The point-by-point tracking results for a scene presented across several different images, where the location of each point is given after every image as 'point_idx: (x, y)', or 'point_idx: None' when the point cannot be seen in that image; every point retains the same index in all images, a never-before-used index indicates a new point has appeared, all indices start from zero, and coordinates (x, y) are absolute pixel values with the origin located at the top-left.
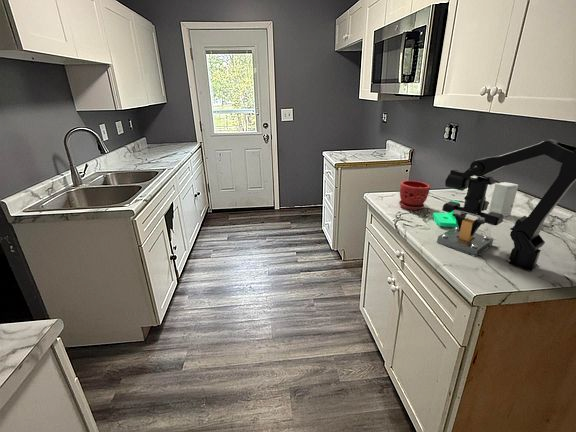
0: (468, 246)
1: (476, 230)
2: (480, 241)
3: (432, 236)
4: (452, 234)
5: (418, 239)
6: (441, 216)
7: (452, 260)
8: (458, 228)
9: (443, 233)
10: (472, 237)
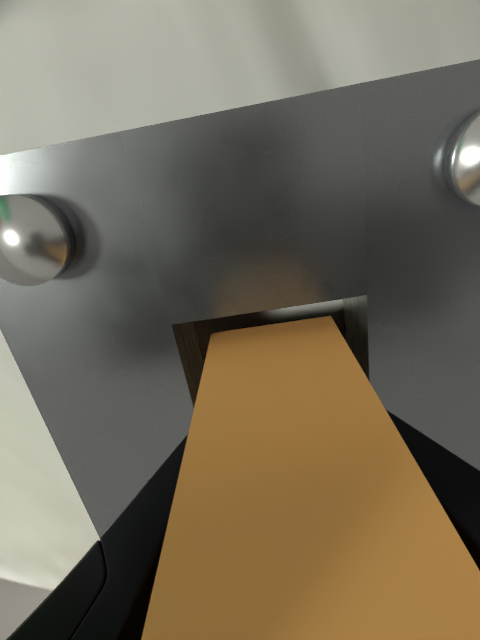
0: None
1: (455, 466)
2: (460, 341)
3: (23, 456)
4: (140, 440)
5: (40, 566)
6: None
7: None
8: (34, 252)
9: (79, 493)
10: (342, 340)
